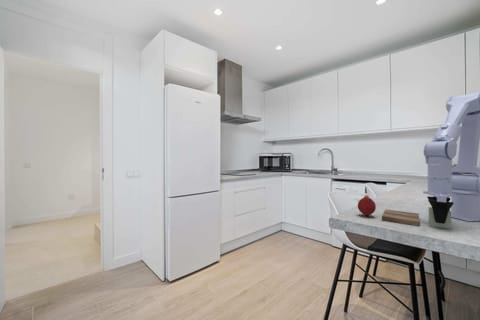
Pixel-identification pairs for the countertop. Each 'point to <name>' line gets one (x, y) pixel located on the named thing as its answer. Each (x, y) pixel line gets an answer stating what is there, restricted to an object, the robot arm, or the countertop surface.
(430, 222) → the cube
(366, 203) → the onion
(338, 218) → the countertop surface
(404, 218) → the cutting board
